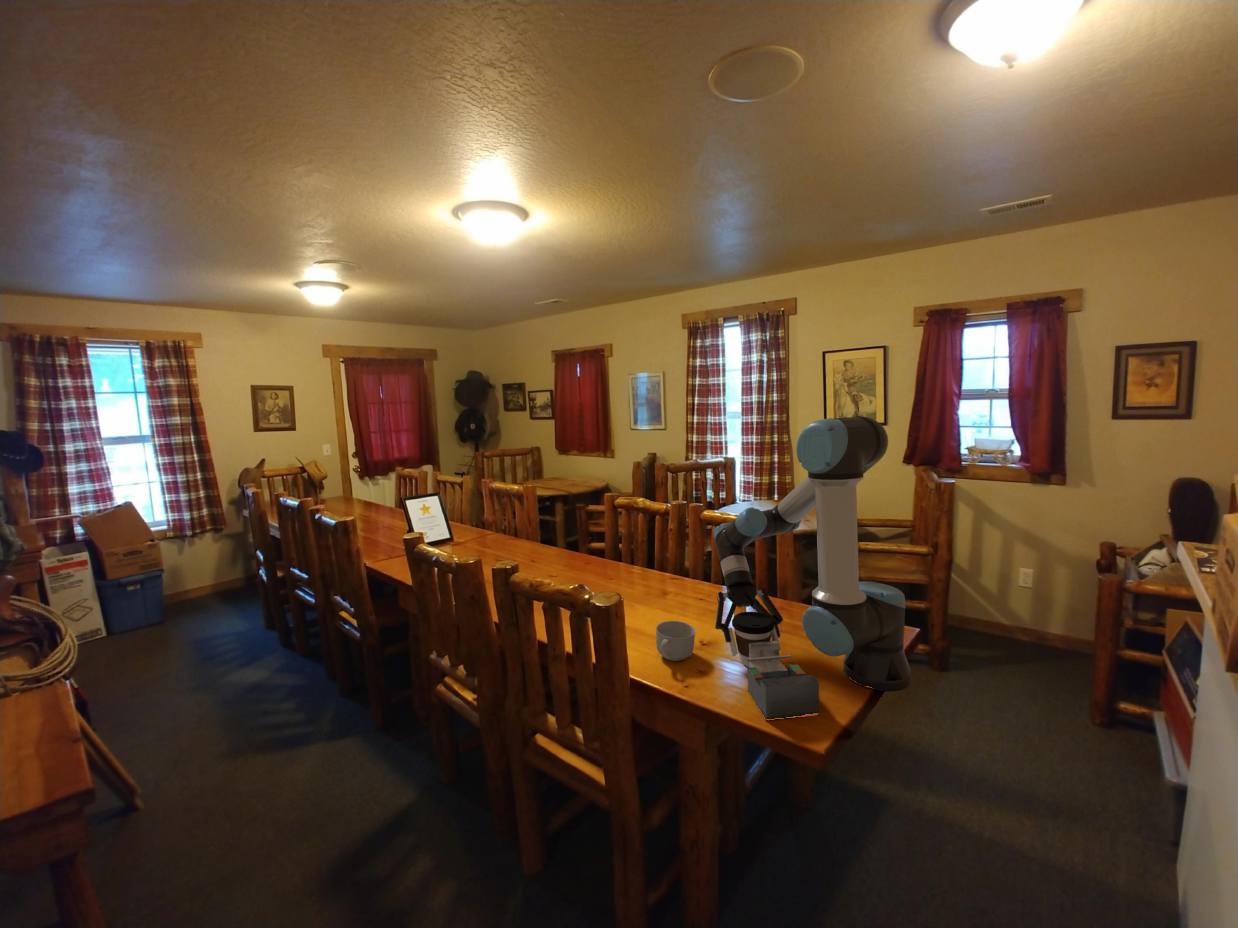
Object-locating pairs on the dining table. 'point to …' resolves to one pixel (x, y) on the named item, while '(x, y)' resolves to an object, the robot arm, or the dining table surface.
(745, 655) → the coffee cup
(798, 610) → the dining table surface
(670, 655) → the teacup
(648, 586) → the dining table surface
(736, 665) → the dining table surface
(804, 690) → the grey box
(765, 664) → the grey bracket with plate
